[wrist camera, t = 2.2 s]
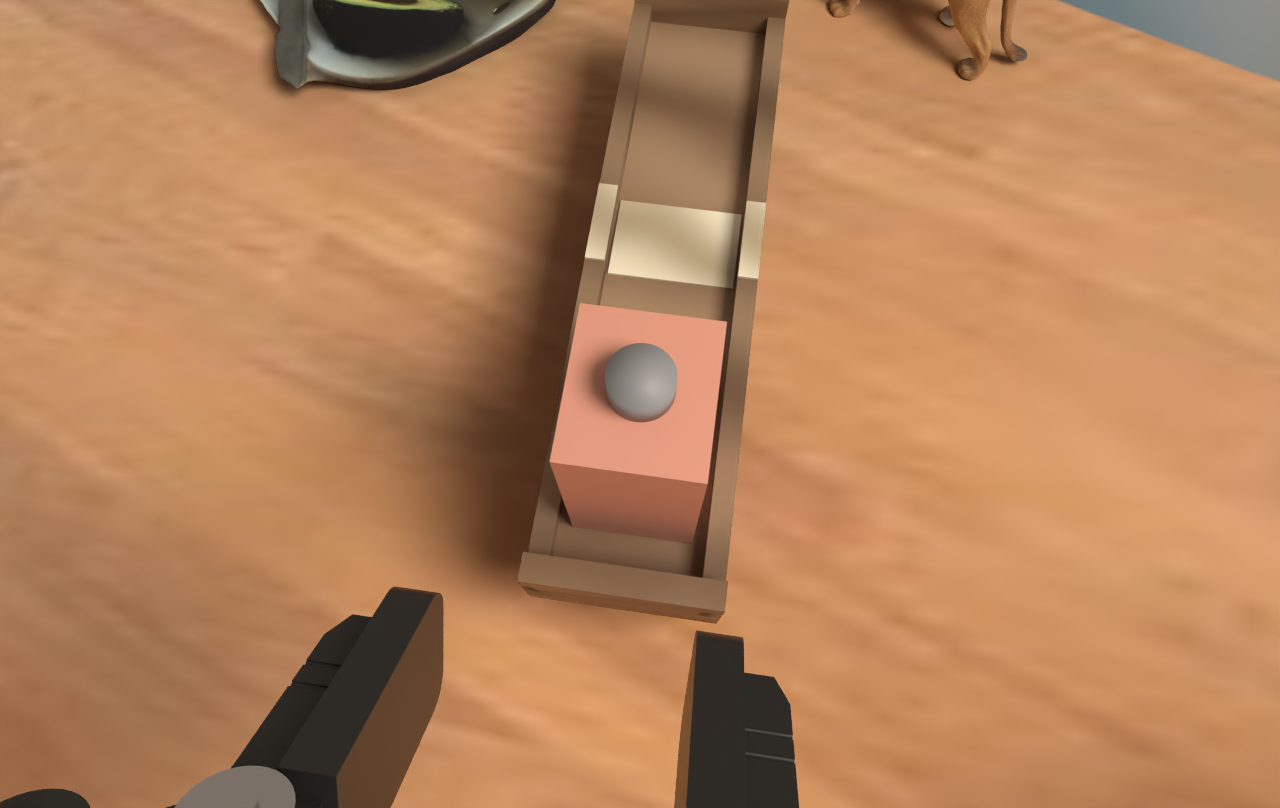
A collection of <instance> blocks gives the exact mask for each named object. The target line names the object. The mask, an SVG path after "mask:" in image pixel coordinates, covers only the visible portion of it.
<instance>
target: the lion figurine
mask: <svg viewBox="0 0 1280 808" xmlns="http://www.w3.org/2000/svg"><path fill="white" fill-rule="evenodd" d="M859 2H860V0H831V1H830V11H831V12H832V14H833V16H834V17H843V16H846V15H849V14H850V13H852V12H853V10H854V9H855V7H856V6H858V4H859ZM948 2H949V6H947V7H945V8H944V9H943V10H942V11H941V13H940V15H939V18H940V20H941V21H942V22H943V23H944V24H946V25H948V26H954V25H955V26H956V27H957V29H958V30H959V32H960V34H961V35H962V37H963V39H964V40H965V42H966V43H967V45H968V46H969V48H970V49H971V52H972V54H973V56H974V58H967V59H963V60H961V61H960V62H959V65H958V66H959V68H958V72H959V74H960V76H961V77H962V78H964V79H968V80H973V79H975V78H977V77H979V76H980V75H981V74H982V73H983V71H984V70H985V68H986V67H987V64H988V61H989V58H990V53H991V50H992V46H993V43H992V40H991V39H990V37H989V35H988V33H987V28H986V11H987V7H988V4H989V2H990V0H948ZM1015 6H1016V0H1003V5H1002V19H1001V43H1002V46H1003V48H1004V51H1005V53H1006V55H1007V56H1008V57H1010V59H1012V60H1013V61H1015V60H1018V61H1023V60H1025V59H1026V58H1027V51H1025V50H1024V49H1023V48H1021V47H1019V46H1017V45H1015V44H1014V43H1013V42H1012V41H1011V29H1012V23H1013V17H1014V12H1015Z"/></svg>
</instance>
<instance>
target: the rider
mask: <svg viewBox="0 0 1280 808" xmlns="http://www.w3.org/2000/svg"><path fill="white" fill-rule="evenodd" d="M726 326H727V322H725V321H717V320H709V319H701V318H694V317H686V316H678V315H670V314H662V313H654V312H646V311H639V310H631V309H623V308H615V307H607V306H599V305H591V304H584V303H580V306H579V311H578V317H577V322H576V327H575V332H574V337H573V343H572V348H571V353H570V358H569V363H568V369H567V374H566V379H565V384H564V389H563V394H562V400H561V405H560V410H559V415H558V420H557V426H556V431H555V436H554V441H553V446H552V452H551V457H550V465H551V468H552V470H553V473H554V476H555V479H556V482H557V484H558V487H559V490H560V493H561V495H562V498H563V501H564V504H565V507H566V509H567V512H568V515H569V518H570V520H571V523H572V526H573V527H580V528H587V529H594V530H601V531H608V532H615V533H622V534H629V535H636V536H643V537H650V538H657V539H664V540H671V541H678V542H685V543H692V541H693V537H694V533H695V529H696V526H697V522H698V518H699V515H700V511H701V507H702V503H703V500H704V496H705V492H706V488H707V485H708V477H709V469H710V461H711V452H712V444H713V435H714V427H715V419H716V410H717V402H718V393H719V385H720V377H721V368H722V360H723V351H724V343H725V335H726Z"/></svg>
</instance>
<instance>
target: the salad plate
mask: <svg viewBox="0 0 1280 808" xmlns="http://www.w3.org/2000/svg"><path fill="white" fill-rule="evenodd" d="M260 1H261V2H262V3H263V5H264V6H265V8H266V10H267V11H268V12H269V13H270V15H271V16H272V17H273V19H274V20H275V22H276V23H277V24H278V25H279V32H278V33H277V34H276V35H275V52H276V62H277V67H278V71H279V75H280V78H281V79H283V80H285V81H287V82H288V83H290V84H291V85H292V86H293V87H295V88H296V89H297V88H299V87H300V86H302V85H303V84H305V83H307V82H310V81H322V82H334V83H338V84H343V85H348V86H355V87H360V88H367V89H376V90H392V89H400V88H406V87H410V86H414V85H418V84H421V83H424V82H427V81H429V80H432V79H434V78H437V77H439V76H442V75H445V74H447V73H450V72H452V71H455V70H457V69H459V68H461V67H463V66H465V65H467V64H469V63H470V62H472V61H474V60H476V59H478V58H481V57H483V56H485V55H487V54H489V53H491V52H493V51H495V50H497V49H499V48H501V47H503V46H505V45H506V44H508V43H510V42H512V41H513V40H515V39H516V38H518V37H519V36H521V35H522V34H523V33H525V32H526V31H527V30H528V29H529V28H530V27H531V26H533V25H534V24H535V23H536V22H537V21H538V20H539V19H541V18H542V17H543V16H544V15H545V14H546V13H548V11H549V10H550V9H551V8H552V7H553V5H554V3H555V1H556V0H260ZM495 8H498V9H497V10H496V11H495V12H493V10H494V9H495Z"/></svg>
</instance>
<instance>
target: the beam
mask: <svg viewBox="0 0 1280 808" xmlns="http://www.w3.org/2000/svg"><path fill="white" fill-rule="evenodd" d="M788 4H789V0H635V4H634V9H633V14H632V19H631V24H630V29H629V34H628V40H627V45H626V50H625V55H624V60H623V65H622V70H621V76H620V81H619V86H618V91H617V96H616V101H615V106H614V112H613V117H612V122H611V127H610V132H609V137H608V142H607V148H606V153H605V158H604V163H603V168H602V173H601V178H600V183H599V186H598V191H597V196H596V202H595V207H594V212H593V217H592V222H591V227H590V232H589V238H588V243H587V248H586V253H585V261H584V266H583V271H582V276H581V281H580V286H579V291H578V297H577V302H576V307H575V312H574V317H573V322H572V327H571V333H570V338H569V343H568V348H567V353H566V358H565V363H564V369H563V374H562V379H561V384H560V389H559V394H558V399H557V405H556V410H555V415H554V420H553V425H552V430H551V435H550V441H549V446H548V451H547V456H546V461H545V466H544V471H543V477H542V482H541V487H540V492H539V497H538V502H537V507H536V513H535V518H534V523H533V528H532V533H531V538H530V543H529V549H528V552H523V554H522V559H521V564H520V569H519V574H518V579H517V582H518V583H519V584H520V585H521V586H522V587H523V588H524V589H525V591H526V592H527V593H528V594H529V595H530V596H533V597H539V598H546V599H553V600H560V601H567V602H573V603H580V604H587V605H594V606H600V607H607V608H614V609H621V610H627V611H634V612H641V613H648V614H655V615H661V616H668V617H675V618H682V619H688V620H695V621H702V622H709V623H715V624H716V623H717V622H718V620H719V619H720V618H721V616H722V615H723V613H724V612H725V605H726V595H727V586H728V581H726V574H727V564H728V555H729V545H730V536H731V527H732V517H733V508H734V498H735V489H736V479H737V470H738V461H739V451H740V442H741V432H742V423H743V414H744V404H745V395H746V385H747V376H748V366H749V357H750V348H751V338H752V329H753V319H754V310H755V301H756V291H757V282H758V274H759V265H760V256H761V246H762V237H763V227H764V218H765V208H766V197H767V187H768V178H769V169H770V159H771V150H772V140H773V131H774V122H775V112H776V103H777V93H778V84H779V74H780V65H781V56H782V46H783V37H784V27H785V18H786V13H787V8H788ZM580 303H584V304H591V305H599V306H607V307H615V308H623V309H631V310H639V311H646V312H654V313H662V314H670V315H678V316H686V317H694V318H701V319H709V320H717V321H725V322H727V326H726V335H725V343H724V351H723V360H722V368H721V377H720V385H719V393H718V402H717V410H716V419H715V427H714V435H713V444H712V452H711V461H710V469H709V477H708V485H707V488H706V492H705V496H704V500H703V503H702V507H701V511H700V515H699V518H698V522H697V526H696V529H695V533H694V537H693V541H692V543H685V542H678V541H671V540H664V539H657V538H650V537H643V536H636V535H629V534H622V533H615V532H608V531H601V530H594V529H587V528H580V527H573V526H572V523H571V520H570V518H569V515H568V512H567V509H566V507H565V504H564V501H563V498H562V495H561V493H560V490H559V487H558V484H557V482H556V479H555V476H554V473H553V470H552V468H551V465H550V457H551V452H552V446H553V441H554V436H555V431H556V426H557V420H558V415H559V410H560V405H561V400H562V394H563V389H564V384H565V379H566V374H567V369H568V363H569V358H570V353H571V348H572V343H573V337H574V332H575V327H576V322H577V317H578V311H579V306H580Z"/></svg>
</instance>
